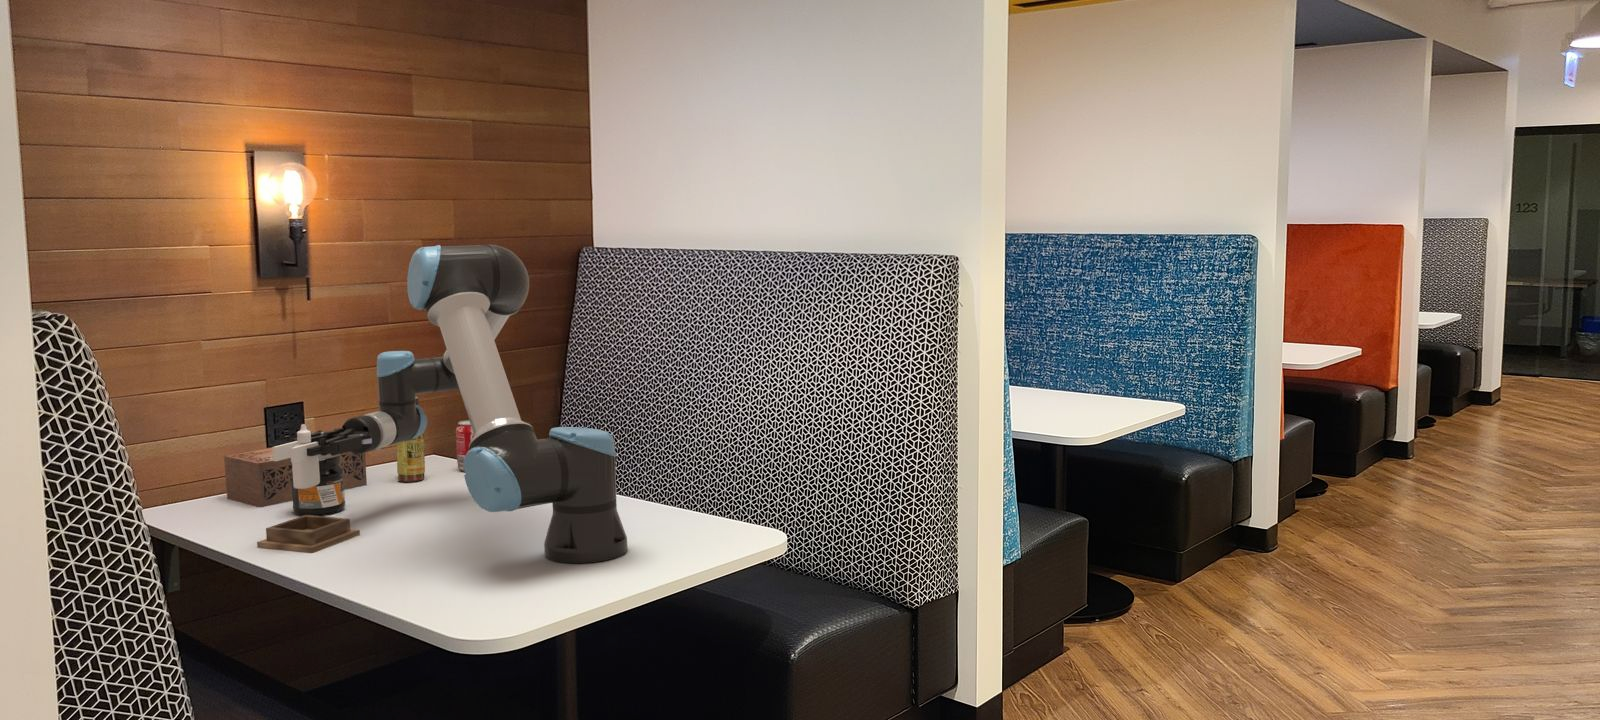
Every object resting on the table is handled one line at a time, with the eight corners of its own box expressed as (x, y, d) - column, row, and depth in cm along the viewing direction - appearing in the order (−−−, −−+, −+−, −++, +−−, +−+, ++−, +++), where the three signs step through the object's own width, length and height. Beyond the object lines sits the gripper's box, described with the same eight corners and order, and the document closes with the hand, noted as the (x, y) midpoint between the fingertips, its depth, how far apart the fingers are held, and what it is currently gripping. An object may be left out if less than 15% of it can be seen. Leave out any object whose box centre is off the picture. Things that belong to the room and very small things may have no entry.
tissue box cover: (261, 508, 255) (258, 463, 254) (227, 499, 264) (224, 455, 263) (366, 486, 276) (364, 444, 275) (332, 478, 284) (329, 438, 283)
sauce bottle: (409, 484, 276) (405, 400, 274) (392, 481, 279) (387, 398, 277) (431, 478, 282) (427, 396, 279) (414, 476, 285) (410, 395, 283)
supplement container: (334, 517, 246) (331, 460, 245) (284, 517, 246) (280, 461, 245) (353, 504, 257) (350, 450, 255) (305, 505, 257) (301, 451, 255)
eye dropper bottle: (287, 486, 226) (283, 425, 224) (315, 481, 230) (312, 421, 228) (297, 490, 223) (294, 428, 221) (326, 485, 227) (323, 423, 226)
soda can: (491, 466, 295) (489, 419, 293) (480, 473, 288) (478, 424, 286) (463, 466, 295) (461, 419, 294) (452, 472, 288) (450, 424, 287)
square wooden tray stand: (359, 535, 231) (358, 517, 231) (312, 552, 219) (311, 534, 219) (306, 530, 236) (305, 513, 235) (257, 547, 223) (256, 529, 223)
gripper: (401, 453, 240) (320, 477, 218) (336, 448, 246) (249, 471, 224) (400, 416, 239) (317, 437, 217) (334, 412, 245) (247, 432, 223)
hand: (283, 454), depth 220 cm, fingers closed on eye dropper bottle, 3 cm apart
